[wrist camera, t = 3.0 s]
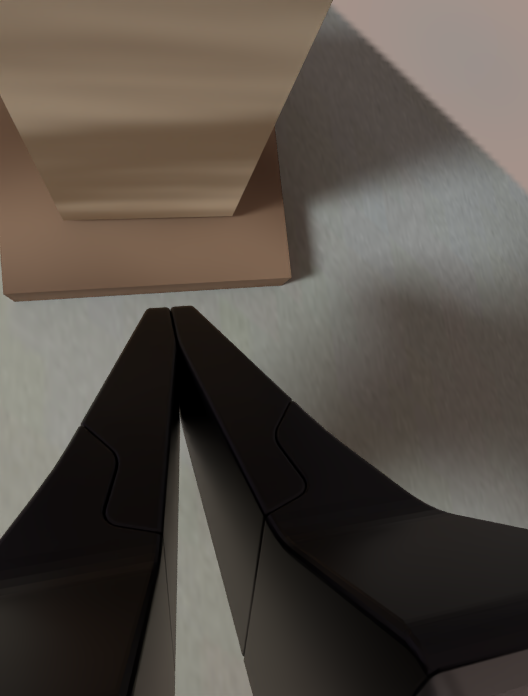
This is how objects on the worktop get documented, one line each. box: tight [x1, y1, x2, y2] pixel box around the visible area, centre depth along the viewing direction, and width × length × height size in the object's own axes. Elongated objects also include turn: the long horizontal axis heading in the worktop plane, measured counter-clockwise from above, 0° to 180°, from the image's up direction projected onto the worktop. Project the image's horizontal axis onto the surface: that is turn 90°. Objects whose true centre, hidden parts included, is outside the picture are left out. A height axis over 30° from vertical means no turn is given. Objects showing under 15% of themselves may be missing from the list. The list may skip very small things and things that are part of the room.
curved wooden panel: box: [0, 0, 333, 220], centre depth 10 cm, size 4×5×11 cm
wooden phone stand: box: [0, 96, 291, 302], centre depth 12 cm, size 8×9×10 cm
